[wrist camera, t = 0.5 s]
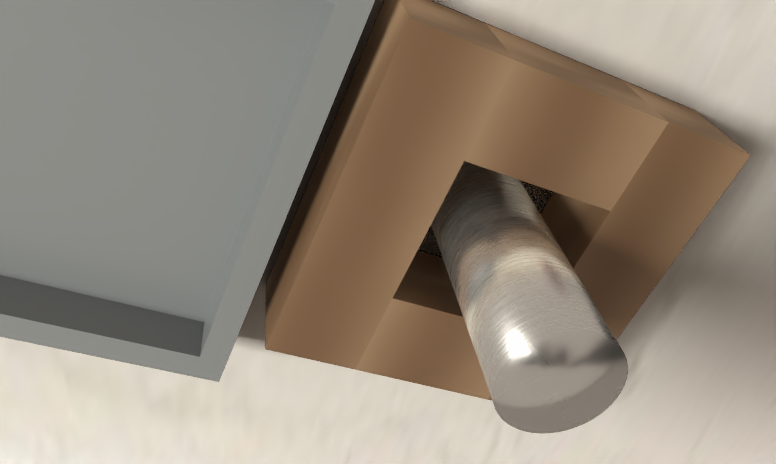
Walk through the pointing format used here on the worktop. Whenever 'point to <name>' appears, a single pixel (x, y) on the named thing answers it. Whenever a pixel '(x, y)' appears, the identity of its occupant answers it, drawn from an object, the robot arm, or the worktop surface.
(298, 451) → the worktop surface
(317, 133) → the tray
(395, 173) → the block
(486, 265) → the pin
